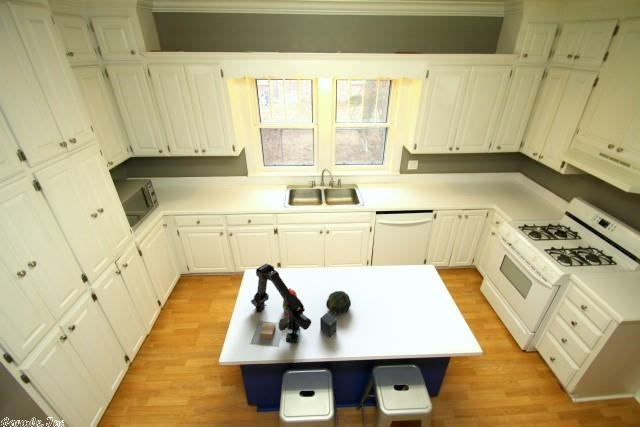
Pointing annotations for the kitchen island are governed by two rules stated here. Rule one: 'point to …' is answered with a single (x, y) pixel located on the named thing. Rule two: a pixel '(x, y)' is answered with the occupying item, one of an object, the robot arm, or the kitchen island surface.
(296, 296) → the stacking bear
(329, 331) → the box
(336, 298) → the squash
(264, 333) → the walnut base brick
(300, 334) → the teal brick
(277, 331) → the baseplate
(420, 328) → the kitchen island surface
